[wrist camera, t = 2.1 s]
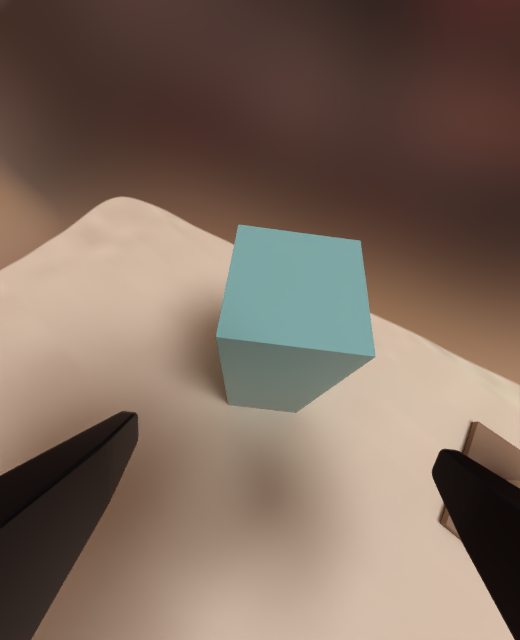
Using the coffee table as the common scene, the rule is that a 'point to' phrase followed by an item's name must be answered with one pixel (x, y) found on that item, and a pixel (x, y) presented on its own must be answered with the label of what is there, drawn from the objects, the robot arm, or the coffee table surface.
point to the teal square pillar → (292, 318)
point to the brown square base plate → (489, 459)
